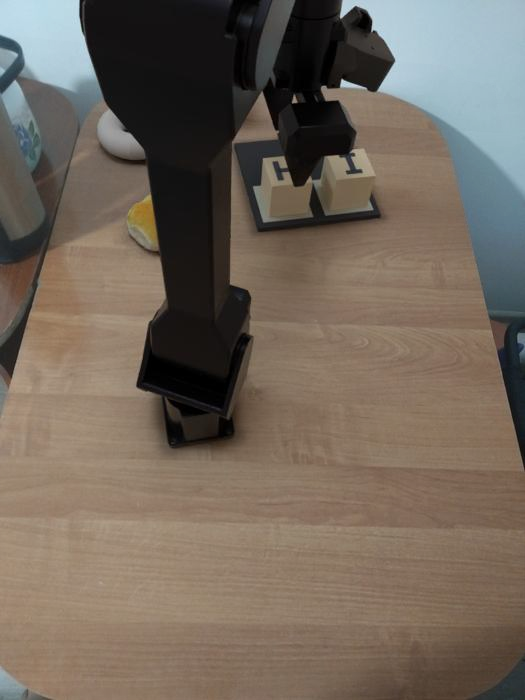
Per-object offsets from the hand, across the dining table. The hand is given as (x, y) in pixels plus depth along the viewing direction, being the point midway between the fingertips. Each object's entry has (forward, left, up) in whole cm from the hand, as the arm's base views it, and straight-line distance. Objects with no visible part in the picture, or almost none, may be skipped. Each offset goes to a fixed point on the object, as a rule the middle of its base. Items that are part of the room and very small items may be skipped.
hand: (288, 156), depth 60 cm
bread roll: (+2, +14, -10) cm, 17 cm away
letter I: (+4, -9, -10) cm, 15 cm away
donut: (+19, +16, -11) cm, 27 cm away
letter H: (+4, -1, -10) cm, 11 cm away
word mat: (+8, -5, -11) cm, 15 cm away
